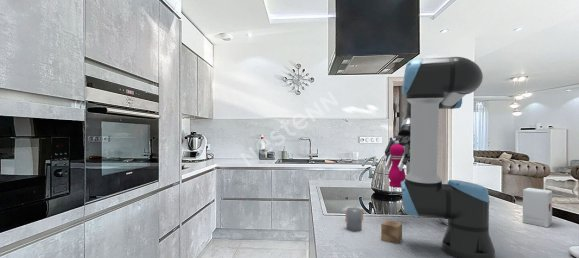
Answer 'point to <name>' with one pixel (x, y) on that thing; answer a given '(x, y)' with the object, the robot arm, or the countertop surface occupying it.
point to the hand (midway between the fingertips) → (393, 168)
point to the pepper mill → (396, 166)
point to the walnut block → (391, 231)
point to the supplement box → (537, 207)
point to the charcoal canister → (354, 219)
